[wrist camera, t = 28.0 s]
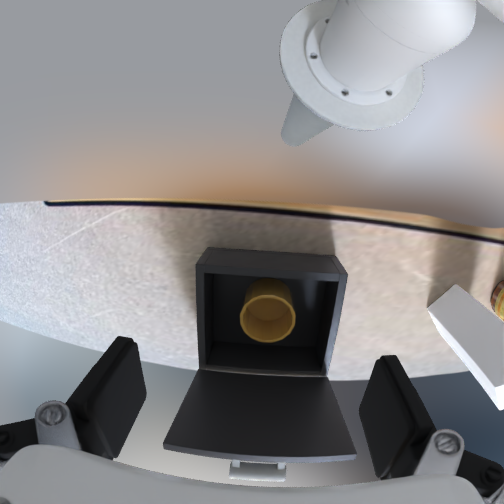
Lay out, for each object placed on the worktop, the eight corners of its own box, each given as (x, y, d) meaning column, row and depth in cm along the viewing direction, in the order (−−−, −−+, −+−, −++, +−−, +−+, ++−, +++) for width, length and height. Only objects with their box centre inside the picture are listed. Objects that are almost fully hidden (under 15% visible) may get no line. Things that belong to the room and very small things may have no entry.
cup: (236, 311, 38) (232, 331, 33) (254, 270, 36) (252, 286, 32) (280, 327, 38) (281, 349, 34) (300, 288, 37) (304, 306, 32)
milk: (455, 282, 36) (550, 363, 15) (466, 309, 37) (549, 390, 16) (425, 308, 38) (509, 406, 16) (438, 333, 39) (511, 428, 17)
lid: (162, 442, 20) (168, 480, 20) (357, 453, 19) (343, 490, 19) (198, 368, 34) (198, 402, 35) (327, 376, 34) (321, 410, 34)
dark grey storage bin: (207, 247, 37) (195, 264, 31) (335, 255, 36) (348, 274, 30) (208, 341, 41) (199, 369, 35) (320, 348, 40) (326, 377, 34)
